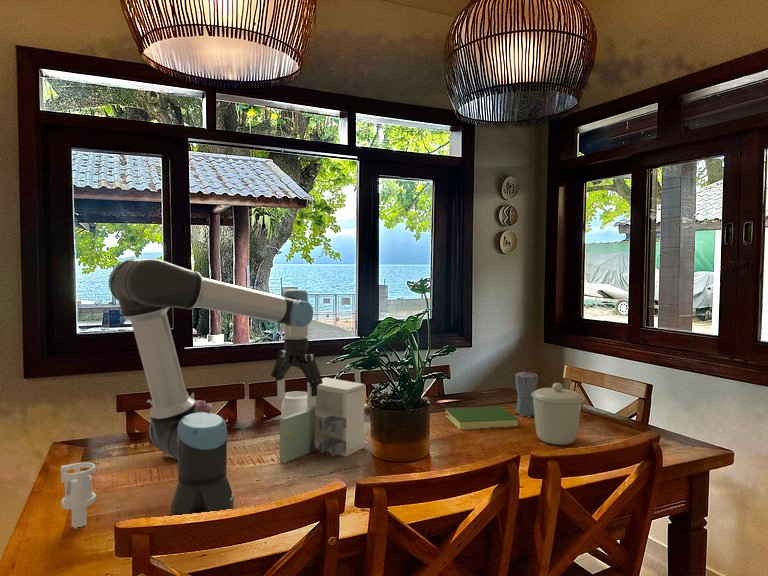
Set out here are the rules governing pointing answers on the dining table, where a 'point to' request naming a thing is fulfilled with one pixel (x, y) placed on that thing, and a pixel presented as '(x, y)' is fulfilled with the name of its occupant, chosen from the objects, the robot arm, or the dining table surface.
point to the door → (297, 434)
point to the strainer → (78, 491)
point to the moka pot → (525, 392)
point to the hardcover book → (480, 417)
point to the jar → (294, 402)
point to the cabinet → (339, 416)
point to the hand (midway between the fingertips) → (296, 402)
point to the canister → (557, 414)
